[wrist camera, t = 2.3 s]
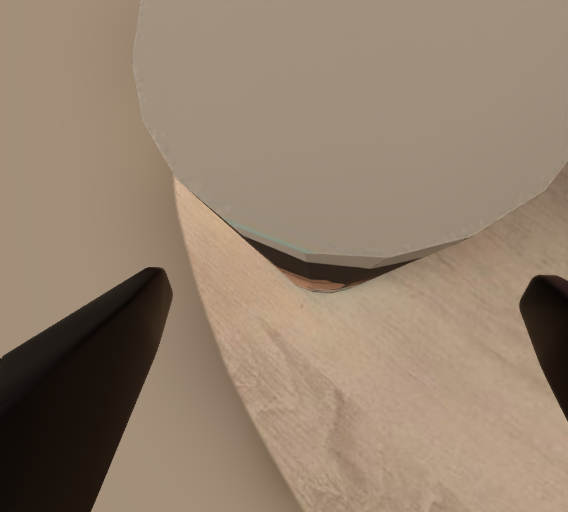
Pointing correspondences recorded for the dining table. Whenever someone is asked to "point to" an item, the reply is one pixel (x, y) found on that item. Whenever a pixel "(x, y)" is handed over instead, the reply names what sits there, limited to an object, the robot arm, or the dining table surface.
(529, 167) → the cartoon face cylinder
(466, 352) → the dining table surface
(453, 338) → the dining table surface
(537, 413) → the dining table surface
